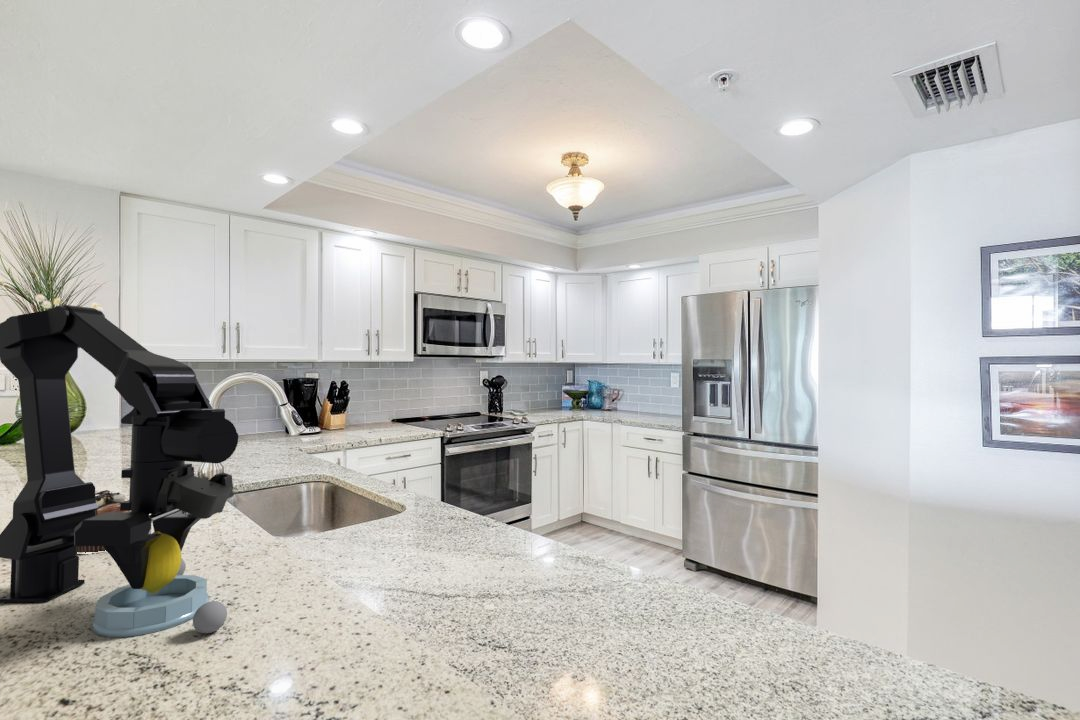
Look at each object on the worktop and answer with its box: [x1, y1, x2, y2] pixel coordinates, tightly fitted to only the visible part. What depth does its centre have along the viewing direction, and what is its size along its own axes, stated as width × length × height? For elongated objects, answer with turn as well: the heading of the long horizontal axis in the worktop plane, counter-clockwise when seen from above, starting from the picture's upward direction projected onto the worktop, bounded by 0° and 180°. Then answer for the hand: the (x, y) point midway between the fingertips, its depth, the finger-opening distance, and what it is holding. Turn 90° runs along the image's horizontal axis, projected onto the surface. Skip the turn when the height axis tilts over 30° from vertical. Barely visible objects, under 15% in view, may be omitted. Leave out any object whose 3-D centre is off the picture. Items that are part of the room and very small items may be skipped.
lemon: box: [141, 531, 182, 594], centre depth 67 cm, size 6×6×8 cm
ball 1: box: [177, 558, 187, 575], centre depth 77 cm, size 4×4×4 cm
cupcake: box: [77, 489, 131, 553], centre depth 92 cm, size 10×10×10 cm
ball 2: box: [192, 600, 228, 634], centre depth 62 cm, size 4×4×4 cm
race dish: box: [92, 574, 210, 638], centre depth 67 cm, size 12×12×3 cm
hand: (154, 579), depth 67 cm, fingers closed on lemon, 5 cm apart
